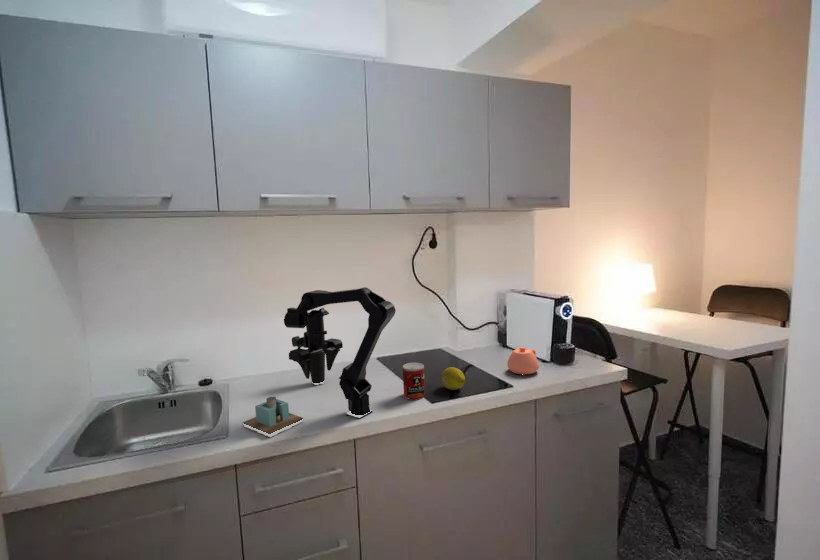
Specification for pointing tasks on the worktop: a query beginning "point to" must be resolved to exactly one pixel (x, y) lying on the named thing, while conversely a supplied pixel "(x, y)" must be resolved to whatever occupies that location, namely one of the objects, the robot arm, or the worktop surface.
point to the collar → (271, 413)
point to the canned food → (413, 380)
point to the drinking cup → (317, 366)
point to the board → (279, 423)
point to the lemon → (453, 378)
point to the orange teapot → (523, 361)
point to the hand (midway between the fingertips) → (318, 374)
